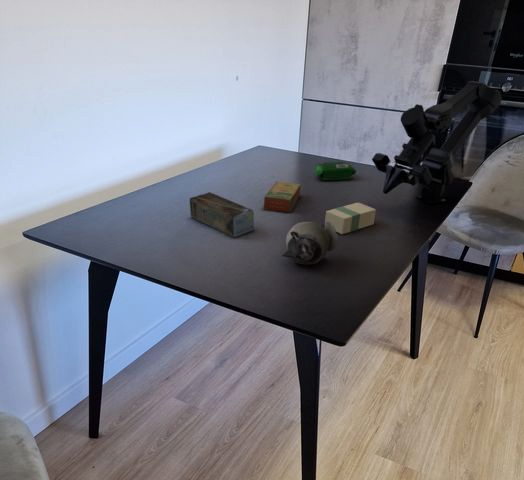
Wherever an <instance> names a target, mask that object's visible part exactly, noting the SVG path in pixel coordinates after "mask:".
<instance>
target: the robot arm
mask: <svg viewBox="0 0 524 480" xmlns="http://www.w3.org/2000/svg"><path fill="white" fill-rule="evenodd" d="M502 100H503V96H502V94H501V91H500V90H498V89H497V90H496V89H494V88H492V87H490V86H488V85H487V83H484V82H481V81H476V80H475V81H474V80H471V81H467V83H466V84H465V86H464V87H462V88H461V89H460V90H458V91H457V92H456V93H454V94H453V95H451V96H450V97H449V98H448V99H446V101H444V102H442V103H438V104H434V105H432V106H429V107H427V108H426V109H425V110H424V107H423V105H422V104H416V103H415V105H414V106H413V107H410V108H408V109H406V111H403V113H402V114H401V116H400V123H401V125H402V126H403V129H404V131H405V133H406V135H407V136H408V137H409V138H410V139H409V140H408V141H407V142H406V143H405V142H403V144H402V145H401V147H402V150H401V151H400V153H399V154H398V155H397V154H395V155H394V156H393V159H394V160H391V159H390V157H389V155H387V154H384V153H381V152H376V153H375V154H374V155H373V157H372V158H371V161H372V162H373V165H374V167H376V170H377V171H379V172H382V173H384V174H385V178H384V179H385V180H384V184H383V189H382V194H385V195H388V194H389V193H390V192H391V191H392V190H394V189H396V188H397V187H398V186H400V185H401V184H409V185H411V186H415V185H417V184H419V185H422V189H421V193H420V195H418V196H417V198H418V199H419V200H421V201H423V202H425V203H427V204H429V205H432V204H440V203H446V202H447V201H446V199H444V196H445V195H444V194H445V191H446V188H447V187H446V186H450V185H451V184H452V183H453V180H454V178H455V176H454V173H453V170H452V168H453V165H454V157H455V156H456V154H457V153H458V152H459V150H460V149H461V148H462V146H464V144H465V142H466V141H467V139H468V138H469V137H470V135H471V134H472V133H473V132H474V130H475V129H476V127H477V126H478V125H479V123H480V122H481V120H484V119H485V118H488V117H489V116H491V115H492V114H493V113H494V112H495V111H496V110H497V109H498V108H499V106H500V105H501V103H502ZM466 107H467V108H468V109H467V111H466V113H465V114H464V115H463V116H462V118H461V119H460V121H459V122H458V124H457V125H456V126H455V127H454V129H453V130H452V132H451V133H450V134H449V136H448V137H447V139H446V140H445V142H443V144H442V145H441V147H439V148H436V147H434V146H436V135H434V134H433V132H436V133H443V132H445V131H446V130H447V129H448V128H449V127H450V126H451V125H452V124H453V123H452V122H453V119H454V117H455V116H456V115H458V114H459V113H460V112H462V111H463V110H464V109H465V108H466ZM430 146H433V147H432V148H431V149H430V150H429V152H428V154H427V155H426V156H425V157H423V156H424V154H425V153H426V151H427V150H428V148H429V147H430Z"/></svg>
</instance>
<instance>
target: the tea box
mask: <svg viewBox="0 0 524 480" xmlns="http://www.w3.org/2000/svg"><path fill="white" fill-rule="evenodd" d="M376 213H377V209H376V208H374V207H371V206H368V205H366V204H363V203H360V202H354V203H351V204H346V205H343V206H339V207H335V208H332V209H328V210H326V211H325V218H324V225H325V224H326V222H330V223H331V225H334V227H335V229H336V233H337V234H338V233H339V234H341V235H344V234H345V235H346V234H348V233H352V232H355V231H358V230H360V229H363V228H367V227H370V226H373V225H374V223H375V217H376Z"/></svg>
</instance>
